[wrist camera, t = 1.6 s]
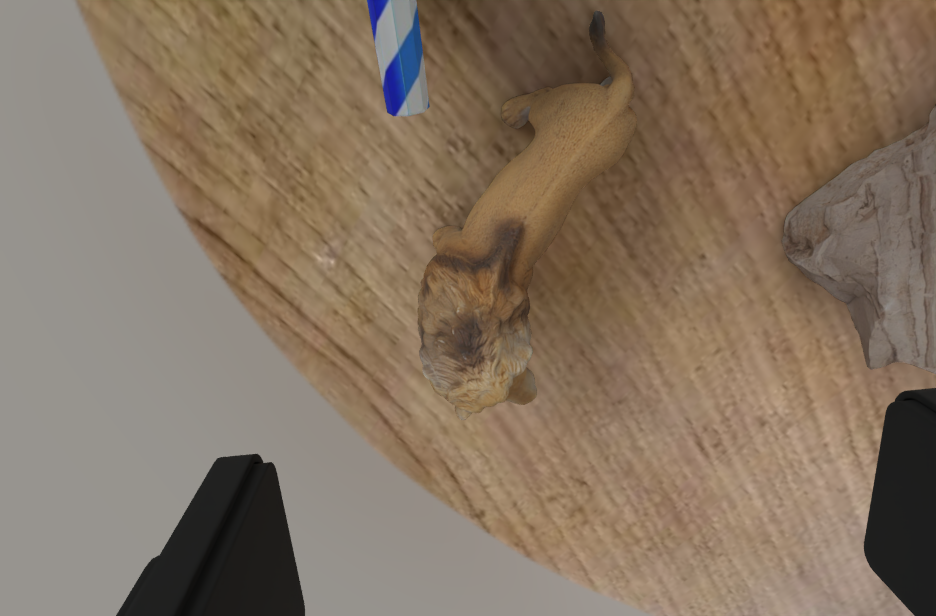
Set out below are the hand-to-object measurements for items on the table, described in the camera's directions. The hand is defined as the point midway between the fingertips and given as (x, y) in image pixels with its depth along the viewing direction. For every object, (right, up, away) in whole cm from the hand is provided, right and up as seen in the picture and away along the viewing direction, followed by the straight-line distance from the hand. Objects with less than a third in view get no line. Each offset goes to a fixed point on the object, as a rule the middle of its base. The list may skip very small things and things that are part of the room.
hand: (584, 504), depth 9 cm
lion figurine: (0, +8, +17) cm, 19 cm away
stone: (+17, +9, +18) cm, 27 cm away
